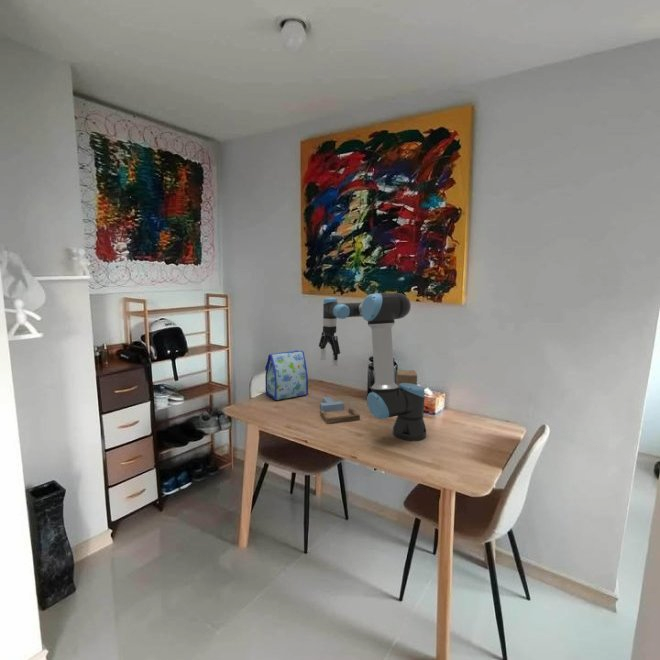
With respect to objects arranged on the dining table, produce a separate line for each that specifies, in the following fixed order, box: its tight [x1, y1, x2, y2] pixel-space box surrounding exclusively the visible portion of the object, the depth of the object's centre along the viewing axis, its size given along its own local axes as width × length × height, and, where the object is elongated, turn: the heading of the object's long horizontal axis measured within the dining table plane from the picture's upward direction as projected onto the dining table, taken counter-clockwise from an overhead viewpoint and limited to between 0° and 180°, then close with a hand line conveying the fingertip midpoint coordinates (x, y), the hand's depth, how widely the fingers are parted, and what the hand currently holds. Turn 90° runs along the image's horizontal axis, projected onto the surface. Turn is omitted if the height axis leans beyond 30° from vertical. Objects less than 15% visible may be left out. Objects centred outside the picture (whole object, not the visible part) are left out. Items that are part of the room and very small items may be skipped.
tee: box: [319, 396, 345, 413], centre depth 210 cm, size 12×12×4 cm
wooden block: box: [395, 369, 418, 388], centre depth 209 cm, size 10×10×20 cm
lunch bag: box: [264, 349, 309, 401], centre depth 226 cm, size 22×17×26 cm
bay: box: [319, 407, 361, 425], centre depth 195 cm, size 12×17×2 cm
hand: (328, 362), depth 218 cm, fingers open, 13 cm apart
